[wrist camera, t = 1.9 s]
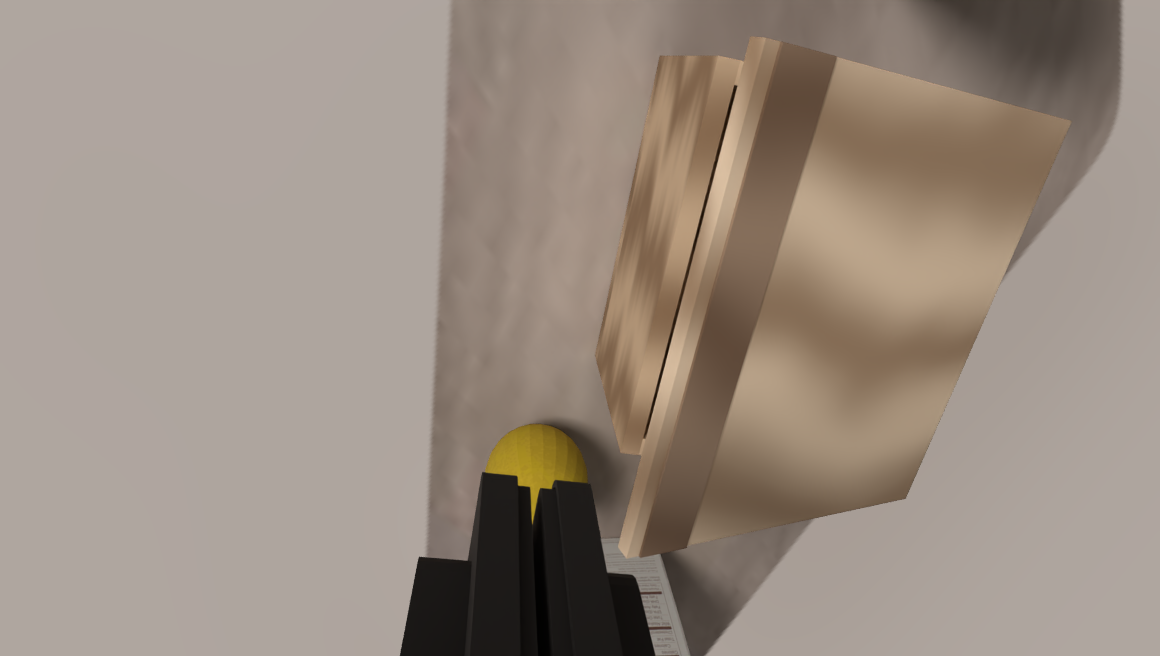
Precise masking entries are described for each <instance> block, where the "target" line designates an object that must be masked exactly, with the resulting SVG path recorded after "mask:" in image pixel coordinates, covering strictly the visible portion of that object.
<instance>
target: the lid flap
mask: <svg viewBox="0 0 1160 656" xmlns="http://www.w3.org/2000/svg"><path fill="white" fill-rule="evenodd" d="M1071 122H1072V121H1069V120H1066V119H1062V118H1058V117H1055V116H1051V115H1047V114H1044V113H1040V112H1036V111H1033V110H1029V109H1025V108H1022V107H1018V106H1014V105H1011V104H1007V103H1003V102H1000V101H996V100H992V99H989V98H985V97H981V96H978V95H974V94H970V93H967V92H963V91H959V90H956V89H952V88H948V87H945V86H941V85H937V84H934V83H930V82H926V81H923V80H919V79H915V78H912V77H908V76H904V75H901V74H897V73H893V72H890V71H886V70H882V69H879V68H875V67H871V66H868V65H864V64H860V63H857V62H853V61H849V60H846V59H842V58H838V57H836V56H833V55H829V54H825V53H822V52H818V51H815V50H811V49H807V48H804V47H800V46H796V45H793V44H789V43H785V42H780V41H776V40H772V39H769V38H763V37H750V40H749V44H748V48H747V52H746V56H745V60H744V63H743V67H742V71H741V75H740V79H739V83H738V86H737V90H736V94H735V98H734V102H733V106H732V110H731V113H730V117H729V121H728V125H727V129H726V133H725V137H724V140H723V144H722V148H721V152H720V156H719V160H718V163H717V167H716V171H715V175H714V179H713V183H712V187H711V190H710V194H709V198H708V202H707V206H706V210H705V213H704V217H703V221H702V225H701V229H700V233H699V237H698V240H697V244H696V248H695V252H694V256H693V260H692V264H691V267H690V271H689V275H688V279H687V283H686V287H685V290H684V294H683V298H682V302H681V306H680V310H679V314H678V317H677V321H676V325H675V329H674V333H673V337H672V340H671V344H670V348H669V352H668V356H667V360H666V364H665V367H664V371H663V375H662V379H661V383H660V387H659V391H658V394H657V398H656V402H655V406H654V410H653V414H652V417H651V421H650V425H649V429H648V433H647V437H646V441H645V444H644V448H643V452H642V456H641V460H640V464H639V467H638V471H637V475H636V479H635V483H634V487H633V491H632V494H631V498H630V502H629V506H628V510H627V514H626V518H625V521H624V525H623V529H622V533H621V537H620V541H619V544H618V548H619V549H620V551H621V552H622V553H623V555H624V556H625V557H626V559H628V558H632V557H637V556H639V557H640V558H643V557H648V556H652V555H657V554H661V553H666V552H671V551H675V550H680V549H684V548H687V546H688V545H693V544H697V543H702V542H707V541H711V540H716V539H721V538H725V537H730V536H734V535H739V534H744V533H748V532H753V531H758V530H762V529H767V528H772V527H776V526H781V525H786V524H790V523H795V522H799V521H804V520H809V519H813V518H818V517H823V516H827V515H832V514H837V513H841V512H846V511H850V510H855V509H860V508H864V507H869V506H874V505H878V504H883V503H888V502H892V501H897V500H902V499H905V498H906V496H907V494H908V492H909V490H910V487H911V485H912V483H913V481H914V478H915V476H916V474H917V471H918V469H919V467H920V465H921V462H922V460H923V458H924V455H925V453H926V451H927V449H928V447H929V444H930V442H931V440H932V437H933V435H934V433H935V431H936V428H937V426H938V424H939V422H940V419H941V417H942V415H943V412H944V410H945V408H946V406H947V403H948V401H949V399H950V397H951V394H952V392H953V390H954V387H955V385H956V383H957V381H958V378H959V376H960V374H961V371H962V369H963V367H964V365H965V362H966V360H967V358H968V356H969V353H970V351H971V349H972V346H973V344H974V342H975V340H976V338H977V335H978V333H979V331H980V328H981V326H982V324H983V322H984V319H985V317H986V315H987V312H988V310H989V308H990V305H991V303H992V301H993V299H994V297H995V294H996V292H997V290H998V288H999V285H1000V283H1001V281H1002V278H1003V276H1004V274H1005V272H1006V269H1007V267H1008V265H1009V263H1010V260H1011V258H1012V256H1013V254H1014V251H1015V249H1016V247H1017V244H1018V242H1019V240H1020V238H1021V235H1022V233H1023V231H1024V229H1025V226H1026V224H1027V222H1028V219H1029V217H1030V215H1031V213H1032V210H1033V208H1034V206H1035V204H1036V201H1037V199H1038V197H1039V194H1040V192H1041V190H1042V188H1043V185H1044V183H1045V181H1046V179H1047V176H1048V174H1049V172H1050V170H1051V167H1052V165H1053V163H1054V160H1055V158H1056V156H1057V154H1058V151H1059V149H1060V147H1061V145H1062V142H1063V140H1064V138H1065V135H1066V133H1067V131H1068V129H1069V126H1070V124H1071Z"/></svg>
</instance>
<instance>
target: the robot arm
mask: <svg viewBox="0 0 1160 656" xmlns="http://www.w3.org/2000/svg"><path fill="white" fill-rule="evenodd" d="M400 656H656V655H655V651H654V647H653V643H652V639H651V635H650V631H649V626H648V622H647V618H646V614H645V610H644V606H643V602H642V598H641V594H640V590H639V586H638V583H637V580H636V578H635V577H634V576H633V575H631V574H619V573H607V568H606V563H605V558H604V552H603V547H602V542H601V536H600V531H599V526H598V521H597V515H596V510H595V505H594V499H593V494H592V489H591V485H590V484H589V483H581V482H572V481H562V480H555V481H554V482H553V485H552V489H548V488H540V490H539V493H538V498H537V503H536V508H535V513H534V518H533V524H532V511H531V490H530V487H528V486H518V477H517V476H515V475H505V474H495V473H486V472H482V476H481V481H480V487H479V494H478V500H477V506H476V512H475V519H474V525H473V531H472V538H471V544H470V550H469V557H468V561H463V560H451V559H439V558H427V557H419V559H418V564H417V569H416V574H415V579H414V585H413V589H412V595H411V600H410V605H409V611H408V616H407V621H406V626H405V632H404V638H403V642H402V648H401V653H400Z"/></svg>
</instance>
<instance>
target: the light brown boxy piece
mask: <svg viewBox="0 0 1160 656" xmlns="http://www.w3.org/2000/svg"><path fill="white" fill-rule="evenodd" d="M743 63H744V61H740V60H736V59H731V58H726V57H722V56H660V58H659V62H658V67H657V72H656V76H655V81H654V86H653V90H652V95H651V99H650V104H649V109H648V113H647V118H646V123H645V127H644V132H643V136H642V141H641V146H640V150H639V155H638V159H637V164H636V169H635V173H634V178H633V183H632V187H631V192H630V196H629V201H628V206H627V210H626V215H625V220H624V224H623V229H622V233H621V238H620V243H619V247H618V252H617V257H616V261H615V266H614V270H613V275H612V280H611V284H610V289H609V294H608V298H607V303H606V307H605V312H604V317H603V321H602V326H601V331H600V335H599V340H598V344H597V349H596V354H595V357H596V361H597V365H598V368H599V372H600V376H601V380H602V384H603V387H604V391H605V395H606V399H607V403H608V406H609V410H610V414H611V418H612V422H613V425H614V429H615V433H616V437H617V441H618V444H619V448H620V452H621V453H626V454H635V455H642V452H643V448H644V444H645V441H646V437H647V433H648V429H649V425H650V421H651V417H652V414H653V410H654V406H655V402H656V398H657V394H658V391H659V387H660V383H661V379H662V375H663V371H664V367H665V364H666V360H667V356H668V352H669V348H670V344H671V340H672V337H673V333H674V329H675V325H676V321H677V317H678V314H679V310H680V306H681V302H682V298H683V294H684V290H685V287H686V283H687V279H688V275H689V271H690V267H691V264H692V260H693V256H694V252H695V248H696V244H697V240H698V237H699V233H700V229H701V225H702V221H703V217H704V213H705V210H706V206H707V202H708V198H709V194H710V190H711V187H712V183H713V179H714V175H715V171H716V167H717V163H718V160H719V156H720V152H721V148H722V144H723V140H724V137H725V133H726V129H727V125H728V121H729V117H730V113H731V110H732V106H733V102H734V98H735V94H736V90H737V86H738V83H739V79H740V75H741V71H742V67H743Z"/></svg>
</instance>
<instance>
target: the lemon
mask: <svg viewBox="0 0 1160 656" xmlns="http://www.w3.org/2000/svg"><path fill="white" fill-rule="evenodd" d="M485 472H486V473H495V474H505V475H515V476H517V477H518V486H528V487H530V490H531V511H532V524H533V518H534V513H535V508H536V503H537V498H538V493H539V490H540V488H548V489H552V485H553V482H554V481H555V480H562V481H572V482H581V483H588V479H587V468H586V465H585V462H584V459H583V457H582V454H581V452H580V450H579V449H578V447H577V446H576V444H575V443H574V442H573V440H572V439H571V438H570V437H569V436H567V435H566V434H565V433H564V432H562V431H561V430H559V429H556V428H554V427H552V426H548V425H543V424H529V425H525V426H521V427H518V428H516V429H514V430H512V431H510V432H509V433H508V434H506V435H505V436H504V437H503V438H502V439H501V440H500V441H499V442H498V443H497V445H496V446H495V448H494V449H493V451H492V452H491V455H490V458H489V460H488V463H487V466H486V470H485Z"/></svg>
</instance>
